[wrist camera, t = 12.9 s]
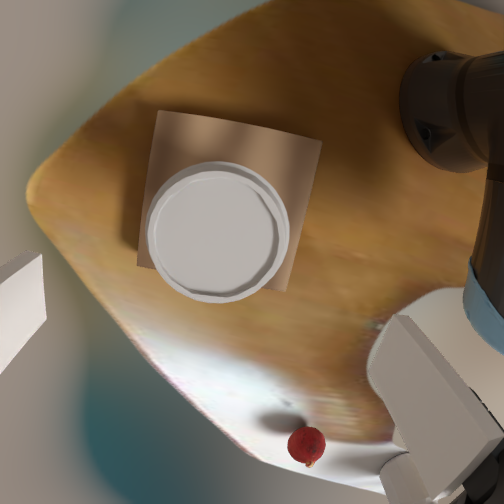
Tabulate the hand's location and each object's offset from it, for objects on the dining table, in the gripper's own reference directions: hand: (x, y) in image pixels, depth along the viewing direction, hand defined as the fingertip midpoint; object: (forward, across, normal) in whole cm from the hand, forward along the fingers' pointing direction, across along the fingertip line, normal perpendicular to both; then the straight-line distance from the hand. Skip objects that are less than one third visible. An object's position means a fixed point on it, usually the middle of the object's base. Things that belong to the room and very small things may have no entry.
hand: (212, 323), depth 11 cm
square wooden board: (+25, 0, 0) cm, 25 cm away
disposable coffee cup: (+22, 0, 0) cm, 22 cm away
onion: (+25, +18, -33) cm, 45 cm away
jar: (+25, +45, -47) cm, 70 cm away
